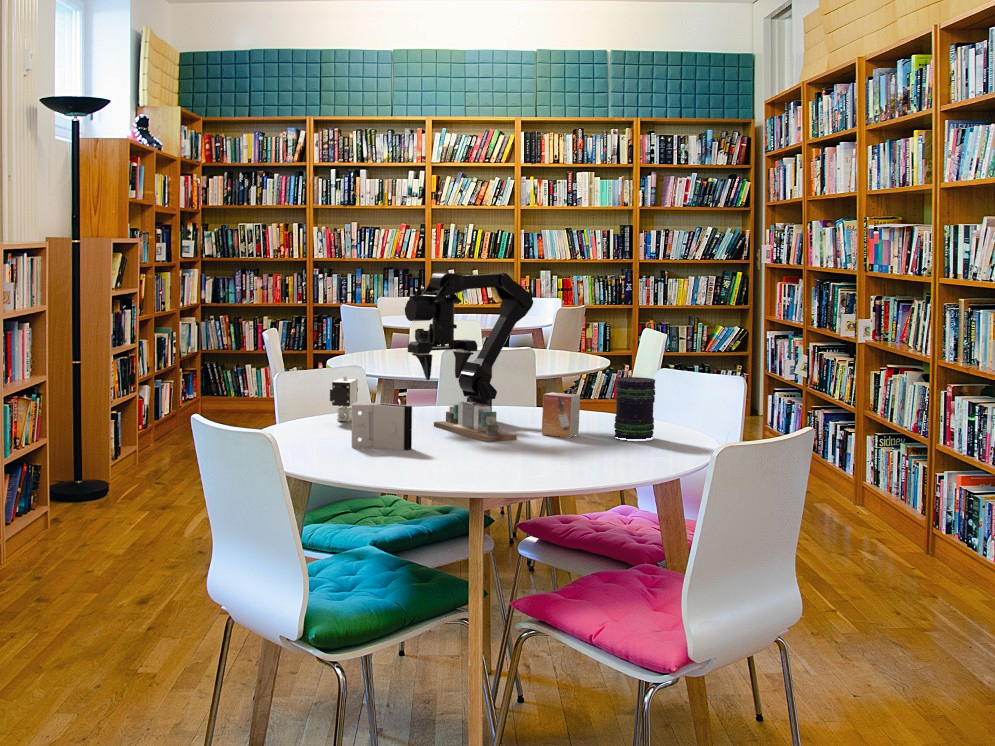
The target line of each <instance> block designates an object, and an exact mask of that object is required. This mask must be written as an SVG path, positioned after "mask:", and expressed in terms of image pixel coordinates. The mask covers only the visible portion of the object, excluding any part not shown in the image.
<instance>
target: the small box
mask: <svg viewBox="0 0 995 746" xmlns="http://www.w3.org/2000/svg"><path fill="white" fill-rule="evenodd" d="M580 404H581V395H580V394H574V393H560V392H553V391H552V392H549V393H547V392H546V393H544V394H543V398H542V420H541V435H542V436H543V435H544V436H551V437H558V436H560V437H559V438H564V437H572V436H574V437H576V436H575V435H577V436H579V429H580V408H581V407H580ZM572 438H573V437H572Z"/></svg>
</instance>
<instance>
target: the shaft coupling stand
mask: <svg viewBox="0 0 995 746" xmlns="http://www.w3.org/2000/svg"><path fill="white" fill-rule="evenodd" d="M481 426H482V427H486V430H484V431H476V430H472V429H468V428H465V427H462V426H459V425H458V404H453V406H451V405H450V406H449V411H445V420H442V421H440V420H439V421H434V422H433V427H434V428H438V429H441V430H444V431H448V432H451V433H455V434H458V435H461V436H464V437H467V438H471V439H474V440H478V441H481V442H484V443H489V442H491V443H492V442H498V441H500V442H501V441H502V440H503V441H511V440H513V439H514V440H517V437H518V434H516V433H512V432H510V431H509V432H508V431H506V430H501V429H499V425H498V424H497V411H492V412H482V417H481Z"/></svg>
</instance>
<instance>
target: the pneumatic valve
mask: <svg viewBox="0 0 995 746" xmlns="http://www.w3.org/2000/svg"><path fill="white" fill-rule="evenodd" d="M331 385H332V386H331V389H329V401H330V402H331V406H332V407H333V406H338V409H337V410H336V411H337V418H336V421H337V422H347V423H349V422H352V405H355V404H357V403H358V391H359V388H358V378H347V375H345V376H343V378H339V379H337V380H335V379H334V380H332V381H331ZM350 406H351V407H350Z"/></svg>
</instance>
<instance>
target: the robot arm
mask: <svg viewBox="0 0 995 746" xmlns="http://www.w3.org/2000/svg"><path fill="white" fill-rule="evenodd" d="M489 288H494V290H495V292H496V295H497V296H498V298H499V299H500V300H501V302H500V306H499V312H500V313H499V316H498V318H497V320H496V322H495V324H494V325H493V327H492V330H490V333H489V335H488V337H487V339H486V340H485V343H484V345H483V346H482V347H481V350H480V351H479V353H478V355H477V357H476V358H475V360H473V361H468V360H469V359H470V357H471V356H472V355H474V352H478V343H477V341H476V340H472V339H455V329H457V327H458V324H455V304H461V303H462V300H461V299H460V298H459V297H458V296H457V294H460V293H461V292H463V291H466V290H475V289H477V290H478V289H489ZM408 297H409V299H408V300H407V302H406V304H405V306H404V315H405V317H406V319H407V320H408V321H410V322H421V321H422V322H425V321H427V322H428V321H431V320H432V323H429V326H428V328H429V329H428V330H425V329H424V328H417V329H415V331H414V340H415V341H410V342H409V343H408V345H407V353H411V355H412V356H414V357H416V358H417V359H418V361H419V363H420V366H421V369H422V371H423V374H424V378H425V379H426V380H427V381H430V380H431V375H432V374H431V373H432V362H433V354H431V352H432V351H448V350H449V351H450V350H453V351H452V353H453V355H454V360H455V361H454V376H455V379H458V384H459V388H460V389H461V391H462V393H463V394H462V395H463V397H466V402H468V401H471V402H475V403H480V404H484V405H488V406H491V412H493V410H492V409H493V400H495V399H496V398H497V393H498V391H497V389H495V387H494V386H493V385H492V384H491V381H492V378H493V366H494V365H495V363H496V361H497V359H498V357H499V356H500V353H501V352H502V349H503V347H504V345H505V344H506V343H507V340H508V338H509V336H510V335H511V333H512V331H513V329H514V327H515V325H516V324H517V323H518V322H519V321H520V320H522V319H523V318H524V317H525V316H526V315H528V313H529V311H530V310H531V309H532V307H533V305H534V299H533V296H532V294H531V292H529V291H528V290H526V289H525V287H523V286H522V285H521V284H519V283H518V282H516V281H515V280H514V279H513V278H512V277H511V276H510V275H509V274H508V273H506V272H494V273H482V274H466V275H465V274H459V273H452V272H434V273H432V275H431V276H430V278H429V282H428V284H427V285H426V287H425V289H424V290H423V292H422V293H421V295H419V294H409V296H408ZM454 350H455V351H454Z"/></svg>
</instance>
